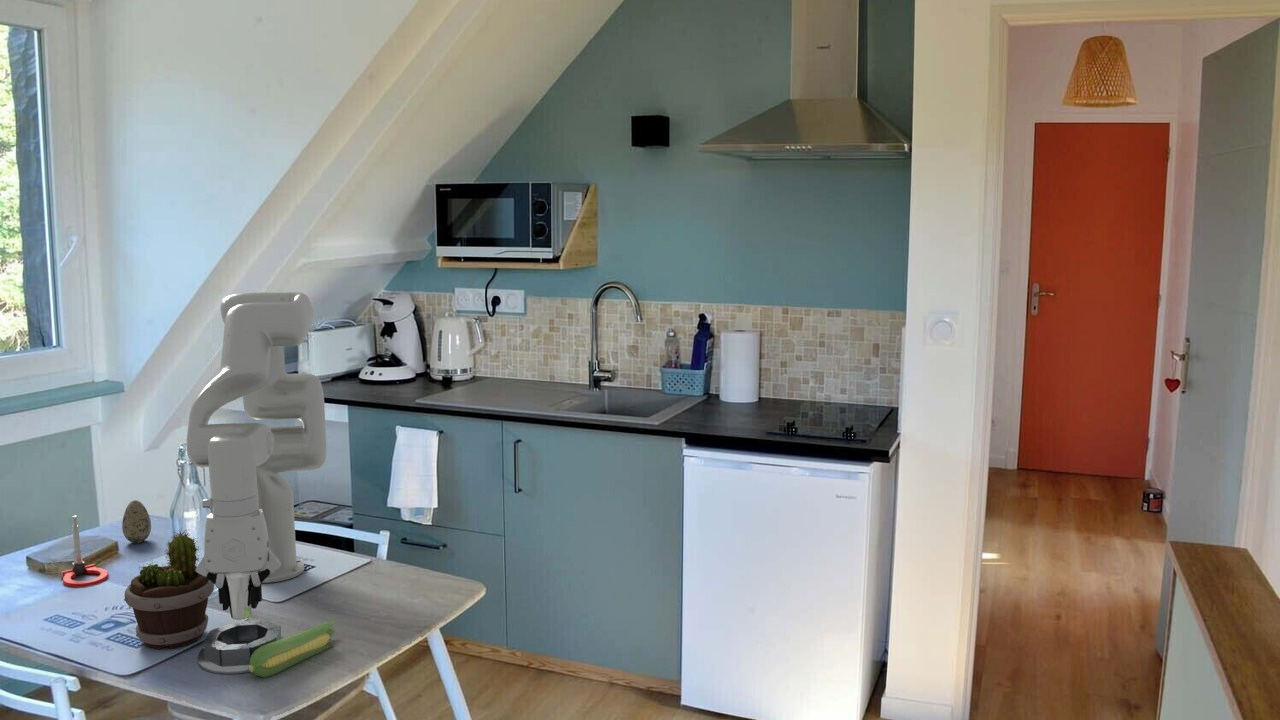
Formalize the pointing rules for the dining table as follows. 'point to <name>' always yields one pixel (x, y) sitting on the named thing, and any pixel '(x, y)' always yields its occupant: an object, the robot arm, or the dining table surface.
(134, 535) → the decorative egg
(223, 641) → the collar
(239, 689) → the dining table surface
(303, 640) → the edible corn
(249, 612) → the milkshake
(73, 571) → the tow hook
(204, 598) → the flowerpot
